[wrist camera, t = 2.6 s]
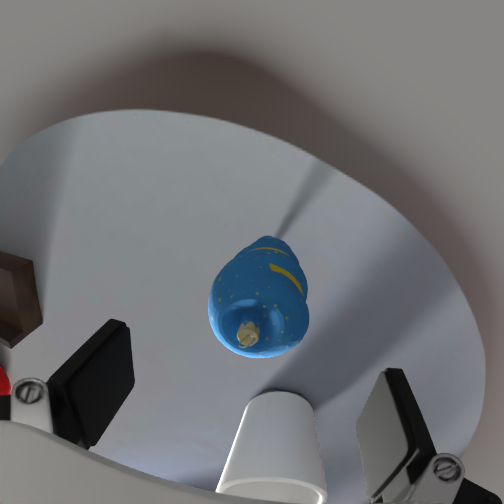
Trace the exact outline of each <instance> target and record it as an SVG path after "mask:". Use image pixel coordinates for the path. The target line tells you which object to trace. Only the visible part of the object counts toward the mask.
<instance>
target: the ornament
mask: <svg viewBox="0 0 504 504" xmlns="http://www.w3.org/2000/svg"><path fill="white" fill-rule="evenodd" d="M307 290H308V287H307V280H306V277H305V275H304V273H303V271H302V269H301V267H300V265H299V262H298V259H297V258H296V256H295V254H294V253H293V252H292V250H291V249H290V247H289V246H288V245H287V244H286V243H285V242H284V241H282V240H280V239H277V238H273V237H271V236H264V237H261V238H260V239H258V240H257V241H256V242H254V243H253V244H251V245H250V246H248V247H246V248H244V249H243V250H242V251H240V252H239V253H238V254H237V255H236V256H235V257H234V259H232V260H231V261H230V262H229V263H227V264H226V265H225V266H224V268H223V269H222V270H221V271H220V273H219V274H218V275H217V277H216V279H215V281H214V283H213V285H212V288H211V291H210V295H209V302H208V313H209V319H210V323H211V326H212V329H213V331H214V333H215V335H216V336H217V338H218V339H219V340H220V341H221V342H222V343H223V344H224V345H225V346H226V347H227V348H229V349H230V350H232V351H233V352H235V353H238V354H240V355H243V356H247V357H252V358H267V357H272V356H277V355H280V354H282V353H285V352H286V351H288V350H290V349H292V348H293V347H295V346H296V345H297V344H298V343H299V342H300V341H301V340H302V338H303V337H304V335H305V333H306V331H307V329H308V325H309V311H308V307H307V304H306V298H307Z"/></svg>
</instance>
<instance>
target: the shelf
mask: <svg viewBox="0 0 504 504" xmlns="http://www.w3.org/2000/svg"><path fill="white" fill-rule="evenodd" d="M41 324H43V322H42V318H41V313H40V308H39V302H38V296H37V290H36V284H35V277H34V270H33V261H31V260H28V259H24V258H21V257H17V256H14V255H11V254H8V253H4V252H1V251H0V343H1V344H3V345H5V346H7V347H8V348H10V349H12V348H13V347H14V346H15V345H17V344H18V343H19V342H20V341H21V340H23V339H24V338H25V337H26V336H28V335H29V334H30V333H31V332H33V331H34V330H35V329H36V328H38V327H39V326H40V325H41Z"/></svg>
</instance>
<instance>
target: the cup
mask: <svg viewBox="0 0 504 504" xmlns="http://www.w3.org/2000/svg"><path fill="white" fill-rule="evenodd" d="M216 492H217V493H222V494H228V495H233V496H239V497H245V498H252V499H259V500H267V501H276V502H287V503H301V504H325V503H326V502H327V500H328V493H327V487H326V481H325V475H324V469H323V463H322V458H321V452H320V446H319V441H318V435H317V430H316V424H315V419H314V414H313V409H312V407H311V405H310V404H309V403H308V401H307V400H306V398H305V397H304V396H303V395H302V394H300V393H289V392H282V391H278V390H275V389H268V390H267V391H265V392H263V393H262V394H260V395H258V396H257V397H255V398H253V399H252V400H251V401H250V402H249V403H248V404H247V407H246V409H245V412H244V415H243V418H242V420H241V423H240V426H239V429H238V432H237V435H236V438H235V440H234V443H233V446H232V449H231V452H230V454H229V457H228V460H227V463H226V465H225V468H224V471H223V473H222V476H221V479H220V481H219V484H218V487H217V489H216Z"/></svg>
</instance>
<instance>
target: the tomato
mask: <svg viewBox="0 0 504 504" xmlns="http://www.w3.org/2000/svg"><path fill="white" fill-rule="evenodd" d="M9 394H11V386H10V382H9V379H8V377H7V375H6V374H5V372H4V371H3V369H2V367H1V366H0V395H9Z"/></svg>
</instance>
